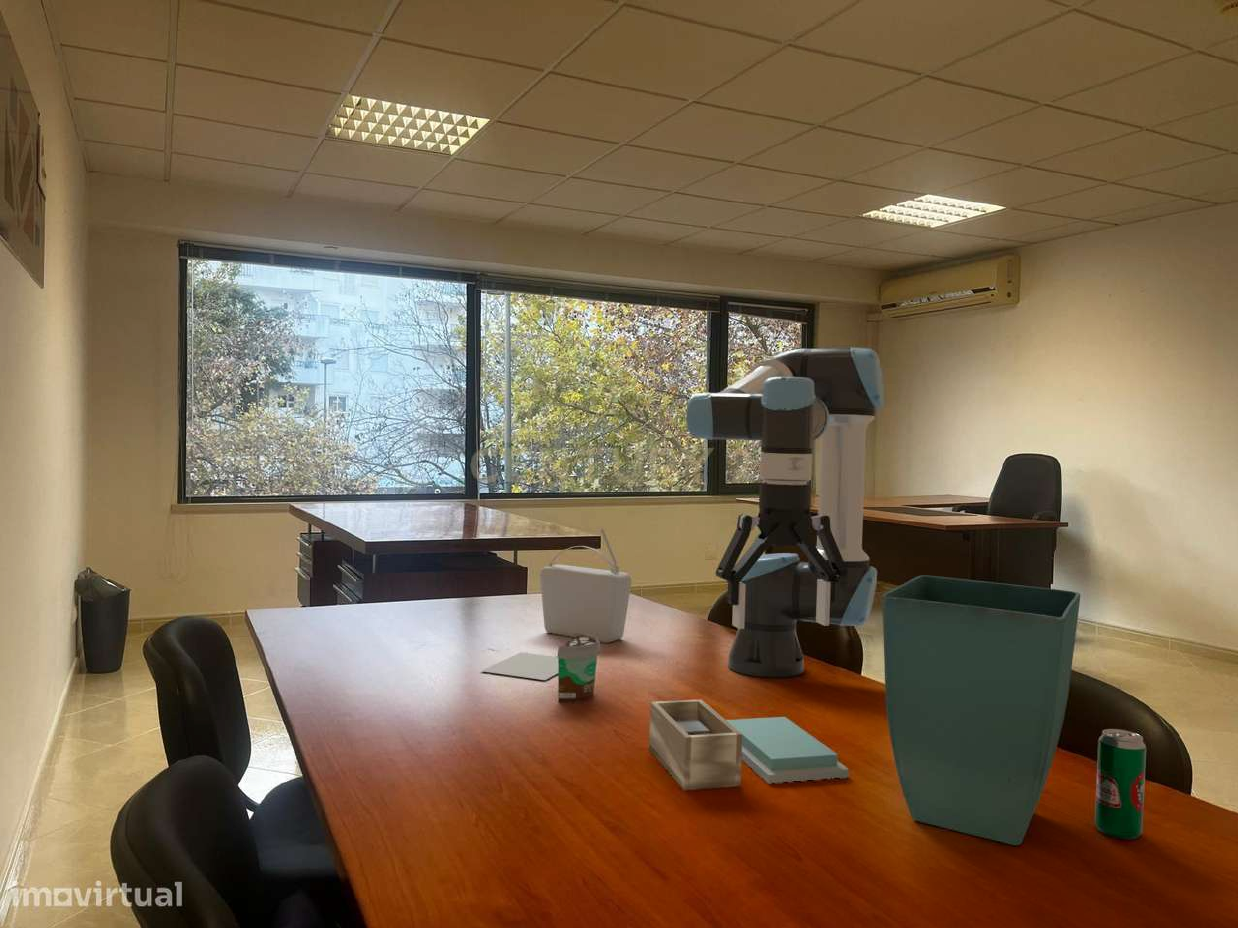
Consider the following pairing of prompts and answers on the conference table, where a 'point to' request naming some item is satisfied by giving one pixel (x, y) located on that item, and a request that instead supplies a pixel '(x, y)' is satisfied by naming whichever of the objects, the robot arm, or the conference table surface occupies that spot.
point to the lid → (783, 744)
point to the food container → (577, 668)
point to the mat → (793, 771)
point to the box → (695, 744)
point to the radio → (585, 599)
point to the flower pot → (976, 698)
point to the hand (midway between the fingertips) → (780, 625)
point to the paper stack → (527, 666)
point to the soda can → (1120, 784)
